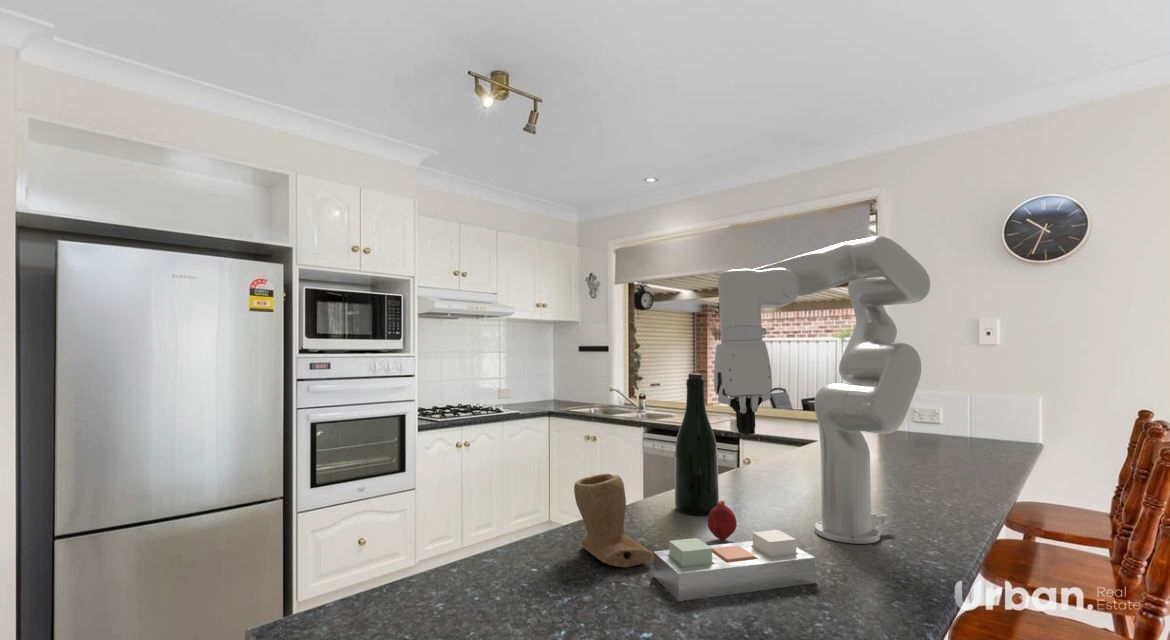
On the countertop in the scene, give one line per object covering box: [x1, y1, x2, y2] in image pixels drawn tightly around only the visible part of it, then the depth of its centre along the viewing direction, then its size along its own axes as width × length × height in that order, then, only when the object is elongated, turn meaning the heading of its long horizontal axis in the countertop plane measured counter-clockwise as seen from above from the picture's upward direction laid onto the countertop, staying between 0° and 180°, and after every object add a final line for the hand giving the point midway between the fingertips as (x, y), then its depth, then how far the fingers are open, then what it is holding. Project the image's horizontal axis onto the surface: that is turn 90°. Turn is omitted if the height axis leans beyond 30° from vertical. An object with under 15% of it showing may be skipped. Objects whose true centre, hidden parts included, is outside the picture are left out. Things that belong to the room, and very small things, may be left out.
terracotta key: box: [712, 546, 755, 563], centre depth 96 cm, size 5×5×3 cm
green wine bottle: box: [674, 373, 720, 516], centre depth 138 cm, size 10×10×33 cm
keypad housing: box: [652, 540, 817, 602], centre depth 96 cm, size 25×10×4 cm, turn 106°
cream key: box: [752, 529, 797, 558], centre depth 98 cm, size 5×5×3 cm
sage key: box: [668, 537, 712, 568], centre depth 94 cm, size 5×5×3 cm
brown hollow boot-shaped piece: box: [573, 473, 654, 568], centre depth 107 cm, size 15×12×15 cm
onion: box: [707, 500, 737, 541], centre depth 116 cm, size 6×6×8 cm
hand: (746, 433), depth 106 cm, fingers closed
